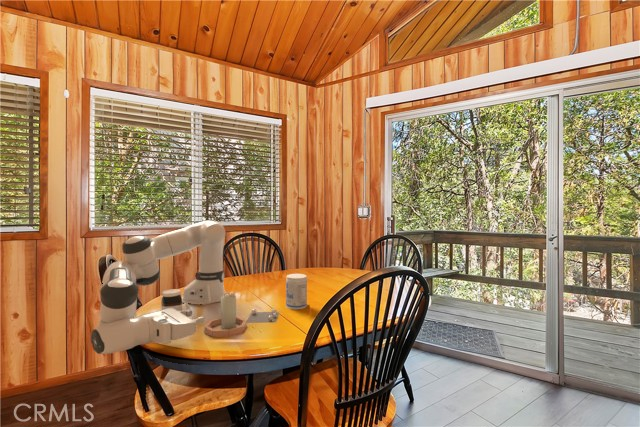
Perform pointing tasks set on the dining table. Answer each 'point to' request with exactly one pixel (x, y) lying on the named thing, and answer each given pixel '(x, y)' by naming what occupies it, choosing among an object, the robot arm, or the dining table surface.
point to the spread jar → (174, 301)
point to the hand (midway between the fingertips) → (197, 315)
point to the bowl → (225, 332)
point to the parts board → (263, 316)
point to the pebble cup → (228, 311)
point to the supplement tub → (296, 291)
